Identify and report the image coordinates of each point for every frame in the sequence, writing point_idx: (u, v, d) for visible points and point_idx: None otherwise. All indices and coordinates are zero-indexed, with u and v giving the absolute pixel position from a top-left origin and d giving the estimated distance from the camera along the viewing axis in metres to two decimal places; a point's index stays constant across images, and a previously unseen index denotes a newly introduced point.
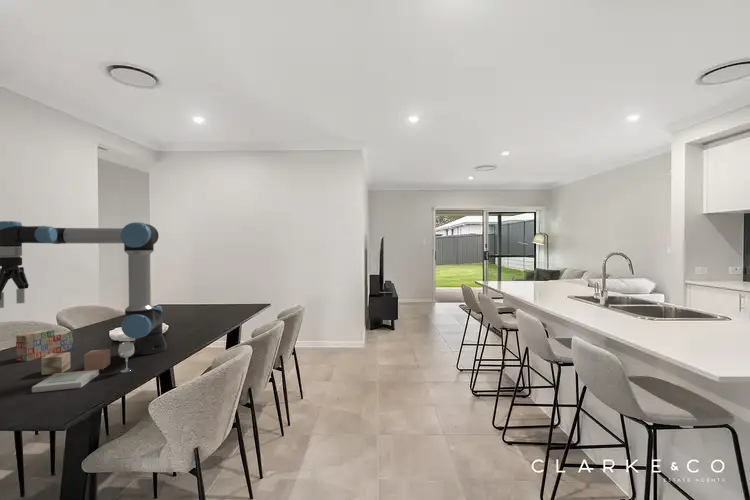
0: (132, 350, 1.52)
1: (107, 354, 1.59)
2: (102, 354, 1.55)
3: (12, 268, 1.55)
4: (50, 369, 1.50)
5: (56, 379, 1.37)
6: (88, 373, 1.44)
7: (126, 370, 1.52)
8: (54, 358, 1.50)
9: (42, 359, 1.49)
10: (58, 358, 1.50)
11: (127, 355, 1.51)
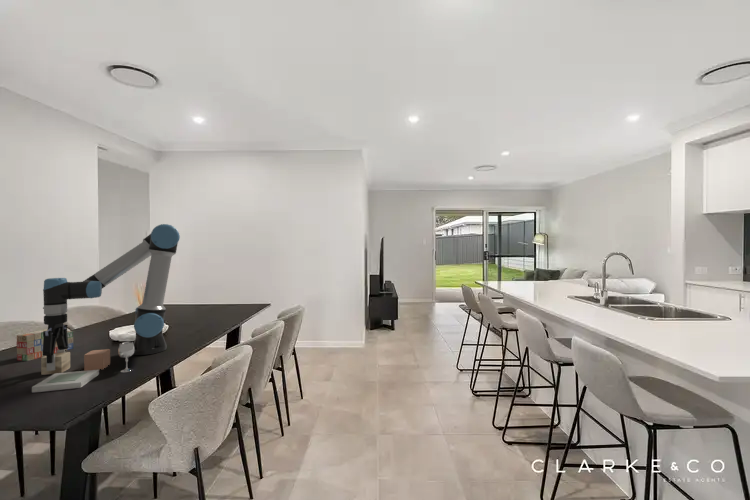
0: (132, 350, 1.52)
1: (107, 354, 1.59)
2: (102, 354, 1.55)
3: (58, 325, 1.53)
4: None
5: (56, 379, 1.37)
6: (88, 373, 1.44)
7: (126, 370, 1.52)
8: None
9: (42, 359, 1.49)
10: (58, 358, 1.50)
11: (127, 355, 1.51)
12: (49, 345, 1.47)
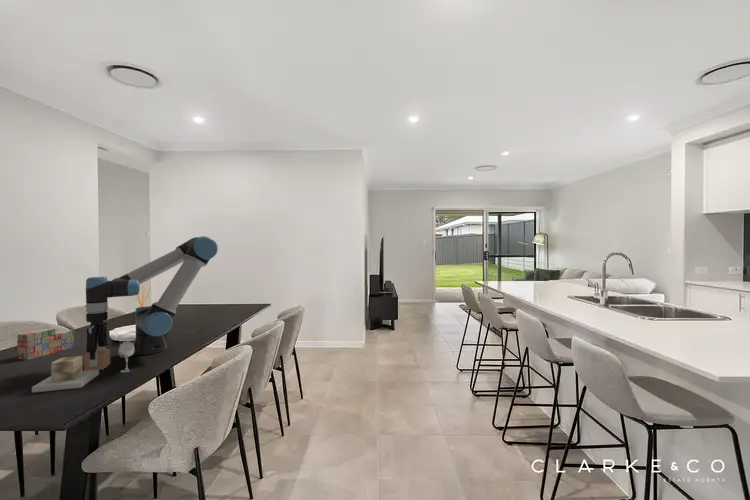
0: (132, 350, 1.52)
1: (107, 354, 1.59)
2: (102, 354, 1.55)
3: (99, 323, 1.57)
4: (61, 374, 1.36)
5: None
6: (88, 373, 1.44)
7: (126, 370, 1.52)
8: (65, 363, 1.36)
9: (52, 364, 1.35)
10: (70, 363, 1.37)
11: (127, 355, 1.51)
12: (92, 342, 1.51)
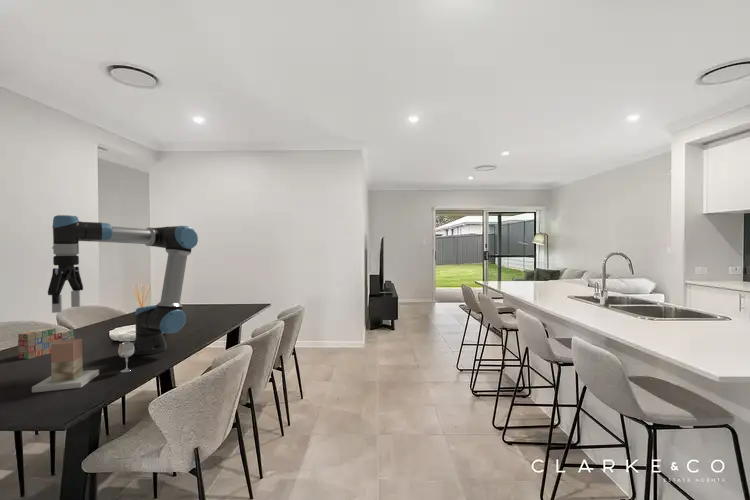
0: (132, 350, 1.52)
1: (78, 344, 1.40)
2: (72, 344, 1.37)
3: (69, 268, 1.39)
4: (61, 374, 1.36)
5: None
6: (88, 373, 1.44)
7: (126, 370, 1.52)
8: (65, 363, 1.36)
9: (52, 364, 1.35)
10: (70, 363, 1.37)
11: (127, 355, 1.51)
12: (57, 283, 1.31)
